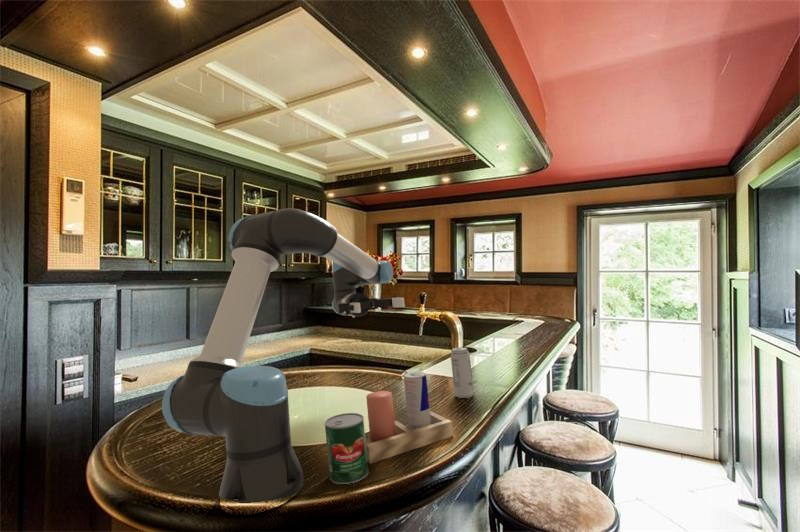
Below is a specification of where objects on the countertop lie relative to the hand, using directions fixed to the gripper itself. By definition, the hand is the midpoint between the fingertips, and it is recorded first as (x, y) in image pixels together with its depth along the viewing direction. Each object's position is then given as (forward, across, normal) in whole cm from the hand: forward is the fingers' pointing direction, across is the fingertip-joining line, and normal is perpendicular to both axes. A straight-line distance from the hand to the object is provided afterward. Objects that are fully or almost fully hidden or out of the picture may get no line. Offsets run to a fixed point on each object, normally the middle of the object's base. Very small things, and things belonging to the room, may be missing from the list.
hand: (382, 305), depth 105 cm
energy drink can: (-3, -27, -32) cm, 42 cm away
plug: (+14, +9, -32) cm, 36 cm away
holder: (+14, +4, -32) cm, 35 cm away
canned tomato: (+21, +20, -32) cm, 43 cm away
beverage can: (+14, -1, -32) cm, 35 cm away
